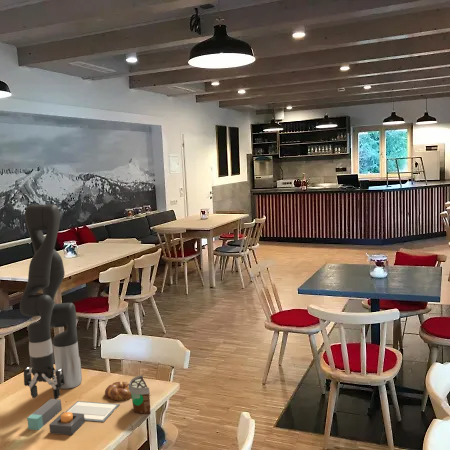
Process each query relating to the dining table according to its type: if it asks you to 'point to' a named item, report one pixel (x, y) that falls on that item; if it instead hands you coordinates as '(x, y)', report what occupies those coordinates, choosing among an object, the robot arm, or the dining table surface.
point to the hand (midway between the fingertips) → (45, 397)
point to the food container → (140, 395)
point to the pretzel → (118, 391)
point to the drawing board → (93, 410)
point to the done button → (66, 417)
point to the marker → (44, 414)
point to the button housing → (67, 425)
